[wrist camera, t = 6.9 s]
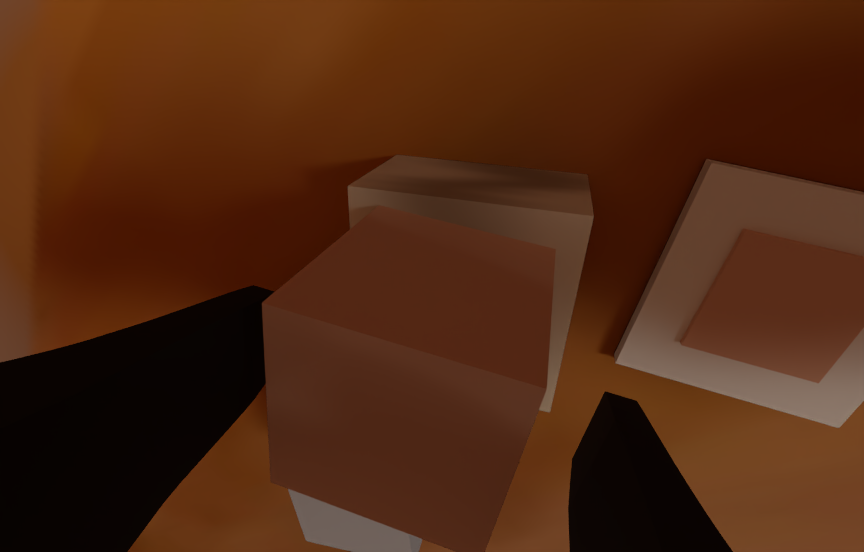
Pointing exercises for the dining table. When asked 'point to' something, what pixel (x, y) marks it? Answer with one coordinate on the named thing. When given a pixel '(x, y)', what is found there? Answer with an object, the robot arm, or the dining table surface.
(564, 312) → the birch base block
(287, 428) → the terracotta block
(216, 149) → the dining table surface
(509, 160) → the dining table surface
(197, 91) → the dining table surface
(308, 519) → the grey painted block
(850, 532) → the dining table surface
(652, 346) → the tile
